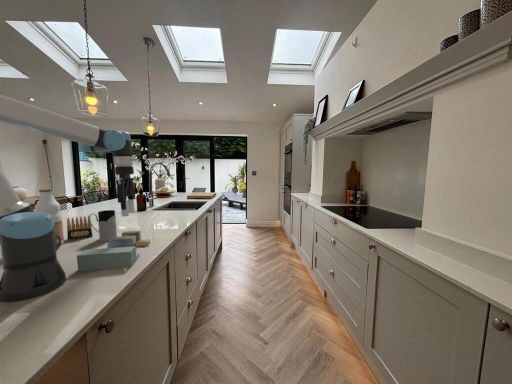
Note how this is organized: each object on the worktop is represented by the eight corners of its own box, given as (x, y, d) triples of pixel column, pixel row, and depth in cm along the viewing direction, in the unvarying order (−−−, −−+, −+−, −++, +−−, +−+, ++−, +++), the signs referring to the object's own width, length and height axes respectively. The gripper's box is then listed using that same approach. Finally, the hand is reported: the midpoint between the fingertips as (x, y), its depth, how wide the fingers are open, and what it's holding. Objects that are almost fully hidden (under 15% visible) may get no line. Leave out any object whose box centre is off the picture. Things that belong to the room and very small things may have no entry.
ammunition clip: (92, 236, 124) (91, 215, 123) (92, 236, 123) (90, 215, 122) (68, 239, 119) (66, 217, 117) (67, 240, 117) (65, 218, 116)
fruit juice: (55, 248, 105) (49, 189, 102) (32, 249, 103) (26, 190, 100) (68, 242, 114) (63, 188, 111) (48, 243, 112) (42, 188, 110)
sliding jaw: (148, 245, 108) (147, 233, 107) (107, 248, 104) (106, 236, 103) (151, 241, 115) (151, 230, 114) (113, 243, 111) (112, 232, 110)
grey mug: (110, 241, 115) (109, 213, 114) (84, 241, 115) (82, 213, 114) (121, 236, 124) (119, 209, 122) (96, 236, 124) (94, 209, 123)
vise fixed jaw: (131, 266, 84) (130, 251, 84) (78, 271, 81) (76, 255, 80) (139, 256, 94) (138, 243, 94) (92, 260, 90) (90, 246, 90)
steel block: (133, 253, 98) (132, 238, 98) (108, 255, 96) (107, 239, 95) (136, 250, 102) (135, 235, 101) (112, 252, 100) (111, 237, 99)
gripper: (123, 165, 93) (128, 218, 96) (139, 165, 112) (143, 209, 115) (104, 166, 92) (110, 219, 94) (124, 166, 111) (128, 210, 114)
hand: (128, 214), depth 105 cm, fingers open, 7 cm apart
